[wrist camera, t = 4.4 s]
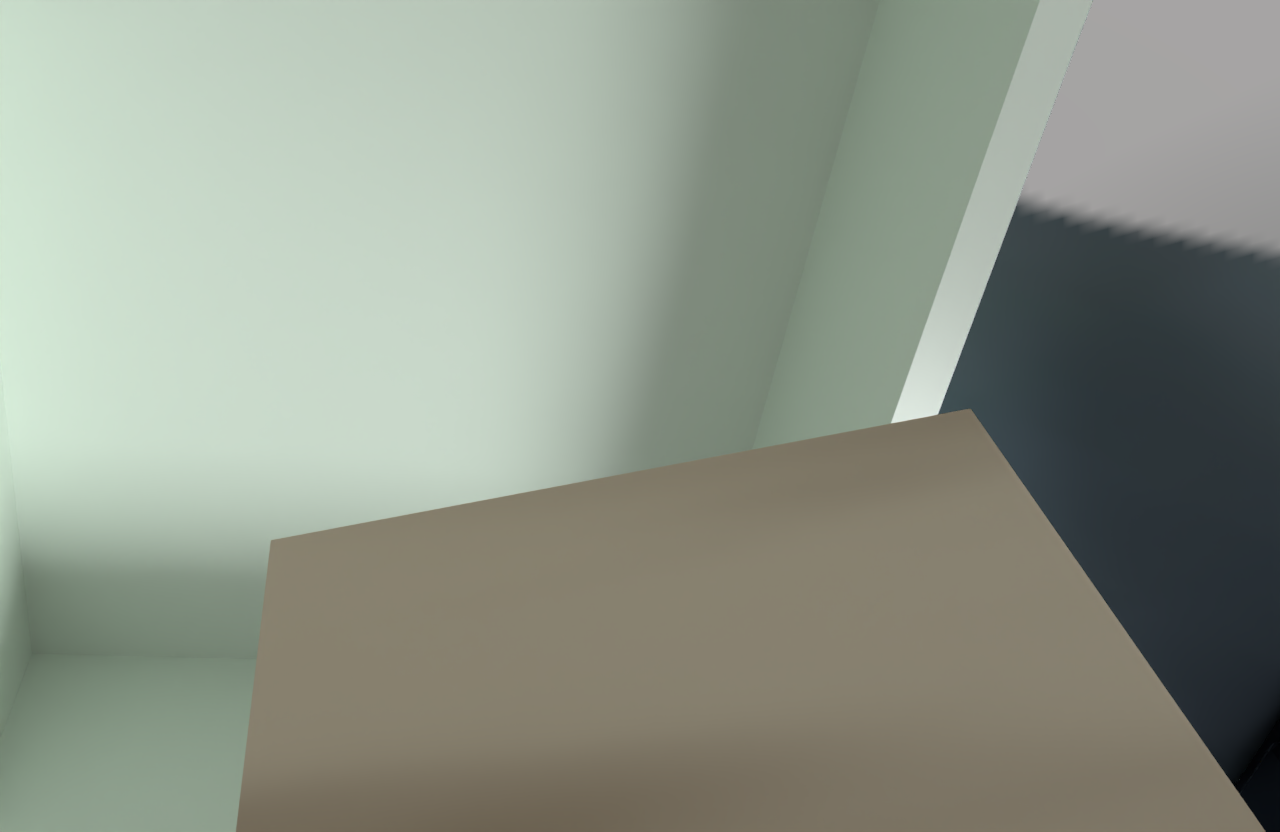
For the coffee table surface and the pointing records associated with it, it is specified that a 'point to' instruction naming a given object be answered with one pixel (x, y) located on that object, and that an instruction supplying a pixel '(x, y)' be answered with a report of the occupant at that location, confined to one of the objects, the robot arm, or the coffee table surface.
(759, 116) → the box
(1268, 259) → the coffee table surface
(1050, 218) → the coffee table surface
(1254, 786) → the robot arm
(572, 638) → the cube
